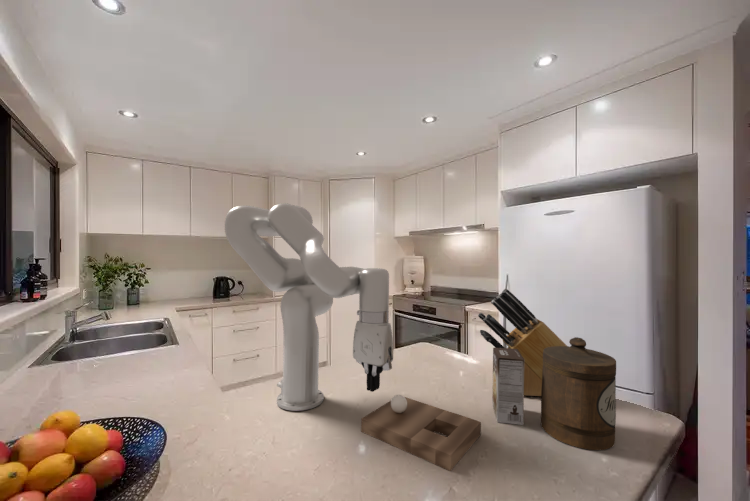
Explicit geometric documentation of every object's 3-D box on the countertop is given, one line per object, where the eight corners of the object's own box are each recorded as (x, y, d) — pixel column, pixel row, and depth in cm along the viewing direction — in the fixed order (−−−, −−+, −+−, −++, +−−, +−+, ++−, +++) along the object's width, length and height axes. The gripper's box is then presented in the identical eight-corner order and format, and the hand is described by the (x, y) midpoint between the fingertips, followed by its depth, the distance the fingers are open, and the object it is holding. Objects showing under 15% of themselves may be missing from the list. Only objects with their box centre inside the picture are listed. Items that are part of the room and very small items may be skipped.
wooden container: (625, 457, 68) (627, 350, 68) (545, 442, 73) (546, 342, 73) (604, 423, 82) (605, 333, 82) (537, 412, 87) (538, 328, 87)
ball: (387, 412, 79) (387, 395, 79) (396, 406, 82) (396, 390, 82) (401, 417, 77) (401, 400, 77) (410, 411, 80) (410, 394, 80)
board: (361, 431, 76) (361, 418, 76) (399, 406, 89) (399, 395, 89) (450, 471, 63) (450, 455, 63) (480, 435, 76) (480, 421, 76)
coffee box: (491, 405, 90) (492, 346, 90) (516, 408, 89) (517, 348, 89) (496, 422, 81) (497, 357, 81) (524, 425, 80) (525, 359, 80)
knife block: (476, 380, 108) (477, 285, 109) (592, 387, 104) (593, 288, 104) (482, 394, 97) (483, 289, 97) (613, 403, 93) (614, 292, 93)
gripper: (342, 315, 86) (341, 386, 86) (389, 323, 77) (388, 402, 77) (360, 311, 92) (360, 378, 92) (406, 318, 83) (406, 392, 83)
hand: (373, 389), depth 84 cm, fingers closed
